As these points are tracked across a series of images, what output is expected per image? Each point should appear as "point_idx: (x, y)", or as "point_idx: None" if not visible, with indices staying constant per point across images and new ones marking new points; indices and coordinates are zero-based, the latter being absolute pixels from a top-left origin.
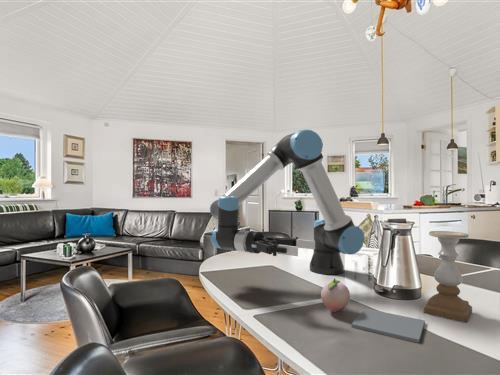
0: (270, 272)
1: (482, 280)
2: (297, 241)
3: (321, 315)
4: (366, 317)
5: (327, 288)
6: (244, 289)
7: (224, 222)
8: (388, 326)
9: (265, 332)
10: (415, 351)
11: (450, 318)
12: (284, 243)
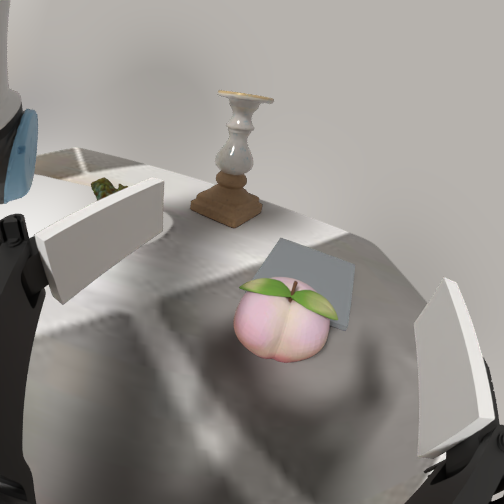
0: None
1: (106, 159)
2: (57, 252)
3: (306, 382)
4: None
5: (322, 321)
6: None
7: None
8: (329, 280)
9: None
10: (377, 278)
11: (253, 216)
12: (7, 378)
